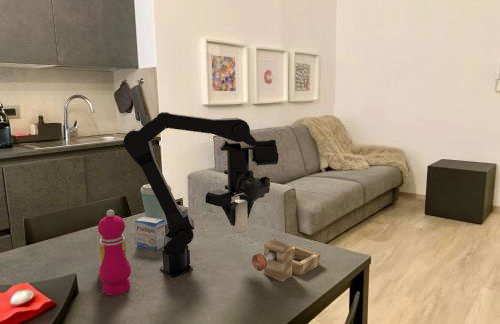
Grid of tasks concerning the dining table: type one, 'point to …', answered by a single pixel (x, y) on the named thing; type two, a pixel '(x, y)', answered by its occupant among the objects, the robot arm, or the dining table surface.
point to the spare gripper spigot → (240, 217)
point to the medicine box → (150, 233)
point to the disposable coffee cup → (152, 203)
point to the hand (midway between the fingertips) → (239, 223)
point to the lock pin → (263, 260)
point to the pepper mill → (113, 256)
